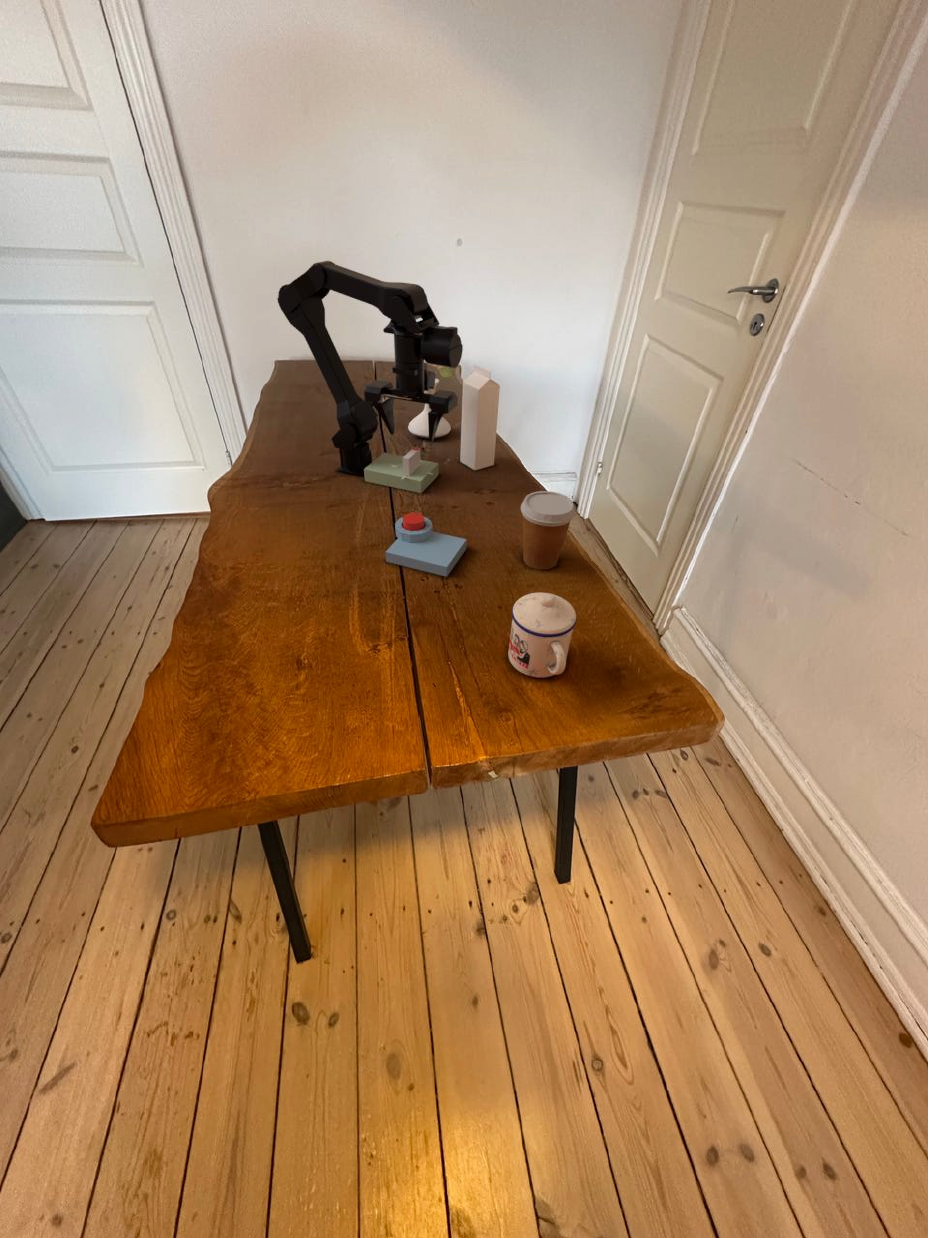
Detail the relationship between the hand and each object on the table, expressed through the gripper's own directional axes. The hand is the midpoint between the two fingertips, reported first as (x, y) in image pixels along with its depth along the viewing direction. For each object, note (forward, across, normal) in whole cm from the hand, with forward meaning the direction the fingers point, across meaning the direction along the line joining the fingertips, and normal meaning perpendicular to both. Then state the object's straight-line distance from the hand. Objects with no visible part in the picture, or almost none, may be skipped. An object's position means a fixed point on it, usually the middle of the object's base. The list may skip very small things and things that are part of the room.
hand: (411, 437), depth 118 cm
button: (+7, -11, +23) cm, 26 cm away
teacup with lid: (+11, -42, +46) cm, 63 cm away
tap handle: (+8, 0, 0) cm, 8 cm away
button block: (+11, -14, +25) cm, 30 cm away
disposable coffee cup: (+11, -35, +19) cm, 41 cm away
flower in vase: (+11, +7, -28) cm, 31 cm away
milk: (+11, -10, -16) cm, 22 cm away
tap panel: (+11, +3, -1) cm, 11 cm away
